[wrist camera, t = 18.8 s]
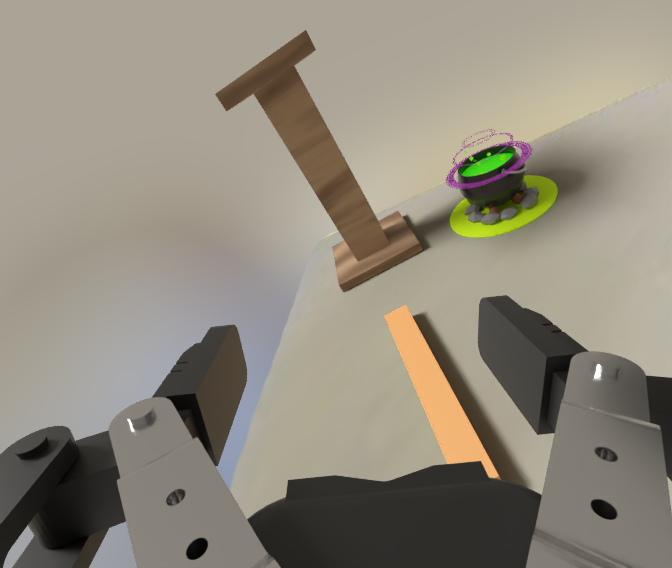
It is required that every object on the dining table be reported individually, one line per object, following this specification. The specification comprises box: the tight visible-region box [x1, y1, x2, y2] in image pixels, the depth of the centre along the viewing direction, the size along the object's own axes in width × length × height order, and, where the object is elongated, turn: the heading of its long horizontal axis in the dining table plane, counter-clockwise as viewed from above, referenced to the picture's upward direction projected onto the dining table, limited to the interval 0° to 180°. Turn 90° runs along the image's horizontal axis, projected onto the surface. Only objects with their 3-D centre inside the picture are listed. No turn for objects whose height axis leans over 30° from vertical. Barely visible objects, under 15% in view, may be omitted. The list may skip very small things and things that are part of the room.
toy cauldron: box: [446, 133, 558, 238], centre depth 50 cm, size 15×15×11 cm
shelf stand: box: [216, 30, 423, 292], centre depth 53 cm, size 16×14×32 cm
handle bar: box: [384, 305, 501, 479], centre depth 35 cm, size 22×3×2 cm, turn 8°
